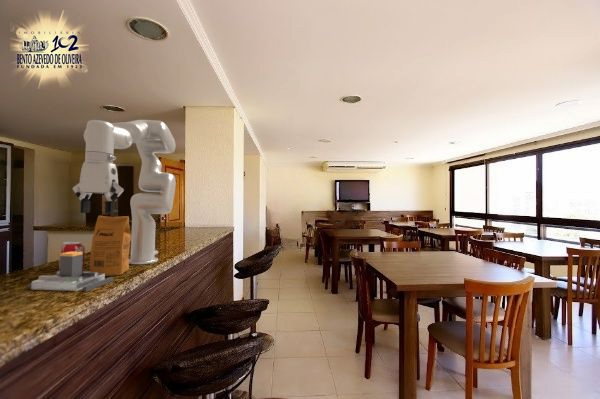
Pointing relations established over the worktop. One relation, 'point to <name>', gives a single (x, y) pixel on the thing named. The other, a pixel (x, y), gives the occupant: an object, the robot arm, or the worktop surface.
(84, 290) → the grey thin bar
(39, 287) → the breaker panel
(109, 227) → the coffee package
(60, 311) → the worktop surface
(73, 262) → the grey block
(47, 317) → the worktop surface
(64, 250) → the soda can
